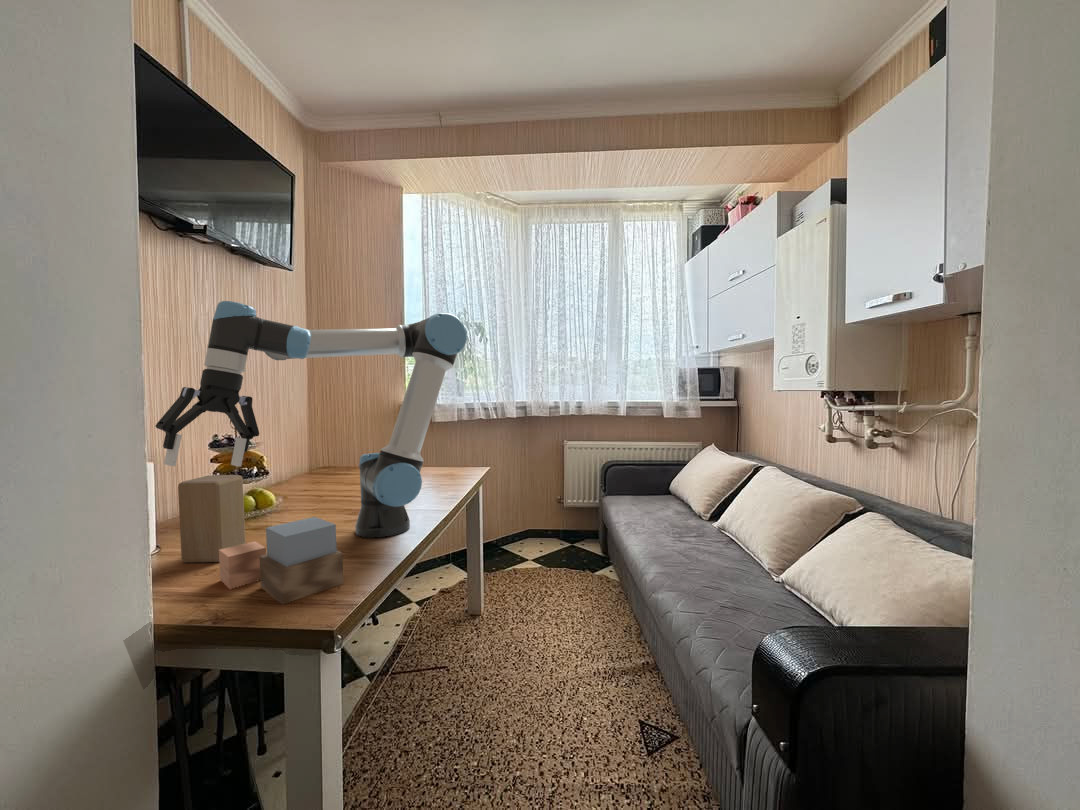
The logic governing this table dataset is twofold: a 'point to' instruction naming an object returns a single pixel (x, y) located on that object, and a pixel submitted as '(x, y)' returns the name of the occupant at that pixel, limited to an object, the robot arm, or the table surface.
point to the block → (210, 516)
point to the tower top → (301, 540)
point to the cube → (240, 564)
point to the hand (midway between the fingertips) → (204, 465)
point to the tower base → (300, 576)
